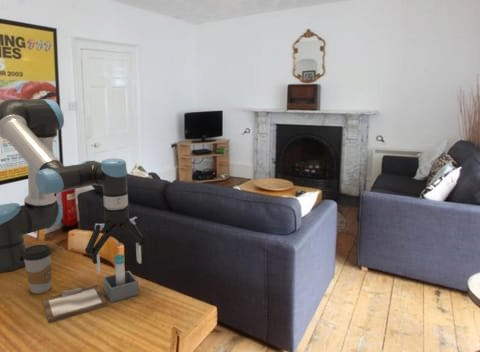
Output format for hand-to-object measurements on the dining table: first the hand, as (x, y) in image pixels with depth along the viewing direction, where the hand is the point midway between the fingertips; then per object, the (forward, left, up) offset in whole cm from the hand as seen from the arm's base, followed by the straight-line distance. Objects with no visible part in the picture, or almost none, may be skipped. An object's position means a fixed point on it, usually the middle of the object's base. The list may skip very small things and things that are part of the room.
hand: (119, 266), depth 123 cm
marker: (0, 0, -9) cm, 9 cm away
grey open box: (0, 0, -10) cm, 10 cm away
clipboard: (-1, -14, -10) cm, 17 cm away
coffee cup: (-17, -22, -10) cm, 30 cm away
